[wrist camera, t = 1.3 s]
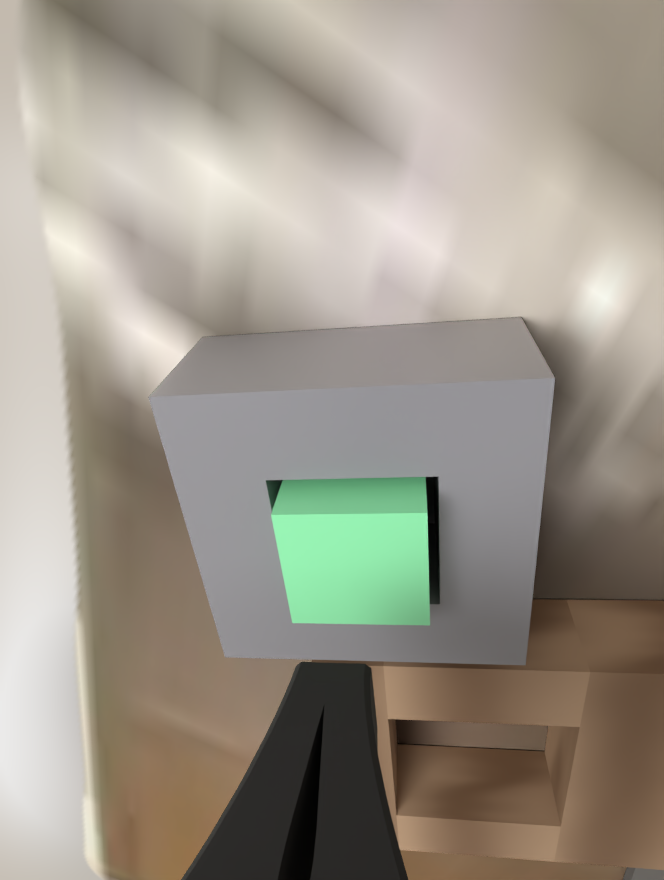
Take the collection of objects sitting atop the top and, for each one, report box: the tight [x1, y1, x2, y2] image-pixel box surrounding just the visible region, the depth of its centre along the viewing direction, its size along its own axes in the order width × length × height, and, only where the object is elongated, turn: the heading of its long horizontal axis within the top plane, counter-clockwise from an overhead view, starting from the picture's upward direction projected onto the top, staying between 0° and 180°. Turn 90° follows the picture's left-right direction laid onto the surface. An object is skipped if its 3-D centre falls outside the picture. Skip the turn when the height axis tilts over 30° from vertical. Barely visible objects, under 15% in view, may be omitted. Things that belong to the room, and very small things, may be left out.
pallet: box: [312, 599, 664, 870], centre depth 21 cm, size 22×12×3 cm, turn 96°
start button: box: [271, 477, 430, 625], centre depth 15 cm, size 4×4×3 cm
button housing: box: [149, 317, 555, 665], centre depth 16 cm, size 9×9×4 cm
